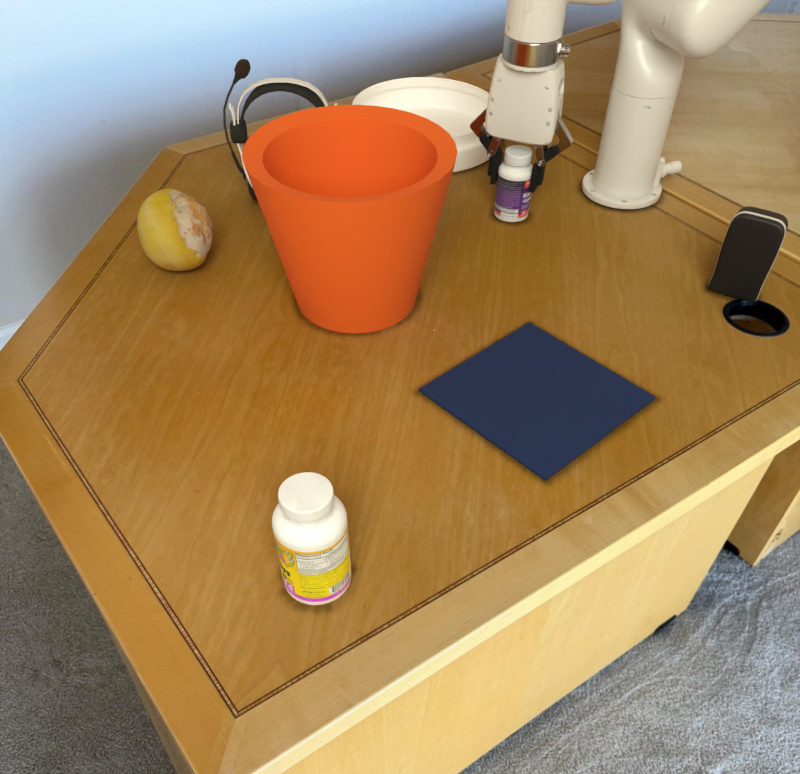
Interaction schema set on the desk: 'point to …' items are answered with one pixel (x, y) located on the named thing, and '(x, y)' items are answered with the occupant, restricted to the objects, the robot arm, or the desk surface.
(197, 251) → the fruit
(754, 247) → the battery charger
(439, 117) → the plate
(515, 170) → the pill bottle
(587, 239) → the desk surface
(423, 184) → the flowerpot
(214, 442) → the desk surface
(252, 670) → the desk surface
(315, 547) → the supplement bottle
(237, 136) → the headset
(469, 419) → the mat
